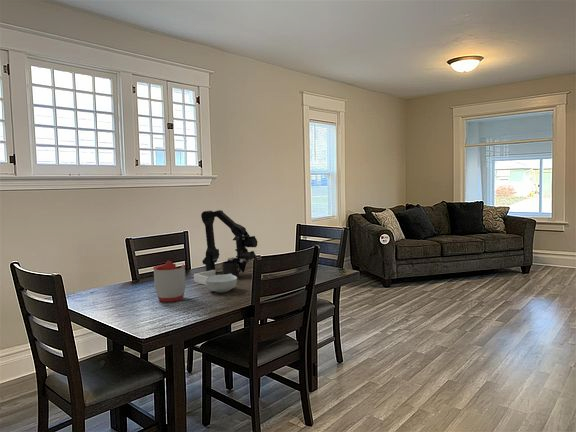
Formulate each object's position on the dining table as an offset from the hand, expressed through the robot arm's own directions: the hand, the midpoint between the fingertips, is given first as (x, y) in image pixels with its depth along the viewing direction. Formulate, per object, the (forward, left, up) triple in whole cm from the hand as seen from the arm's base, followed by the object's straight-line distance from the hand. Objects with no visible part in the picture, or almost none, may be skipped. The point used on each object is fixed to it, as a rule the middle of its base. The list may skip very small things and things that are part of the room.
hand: (243, 272), depth 278 cm
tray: (-1, -21, -2) cm, 21 cm away
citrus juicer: (+15, -57, -2) cm, 59 cm away
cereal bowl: (+21, -31, -2) cm, 37 cm away
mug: (0, -8, -2) cm, 8 cm away
